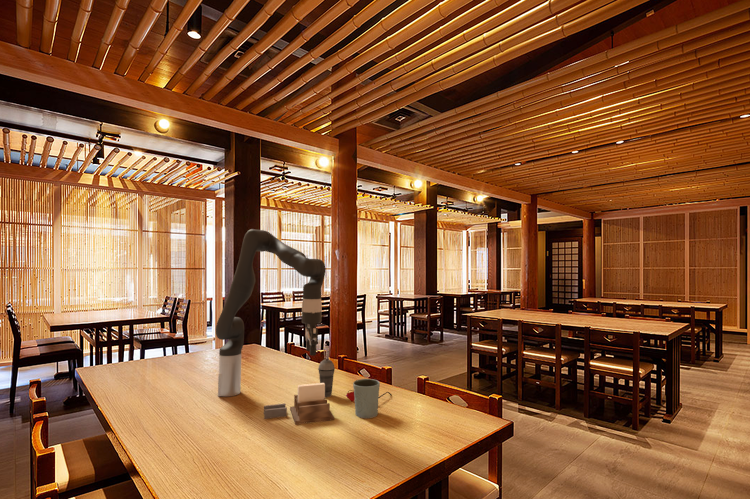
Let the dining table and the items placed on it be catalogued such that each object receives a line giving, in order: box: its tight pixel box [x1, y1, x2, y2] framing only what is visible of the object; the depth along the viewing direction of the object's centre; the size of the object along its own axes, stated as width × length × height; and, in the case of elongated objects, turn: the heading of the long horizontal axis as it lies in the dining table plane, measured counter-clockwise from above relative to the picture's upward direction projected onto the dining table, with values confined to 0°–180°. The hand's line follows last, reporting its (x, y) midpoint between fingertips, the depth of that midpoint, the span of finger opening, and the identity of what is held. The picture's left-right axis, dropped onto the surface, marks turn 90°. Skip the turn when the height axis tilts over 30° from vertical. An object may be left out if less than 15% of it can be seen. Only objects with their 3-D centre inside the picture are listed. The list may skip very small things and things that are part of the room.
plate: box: [297, 382, 326, 402], centre depth 148 cm, size 10×2×10 cm, turn 109°
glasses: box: [345, 389, 392, 402], centre depth 167 cm, size 14×16×5 cm
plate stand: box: [263, 402, 288, 420], centre depth 147 cm, size 8×5×3 cm
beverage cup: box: [317, 348, 336, 398], centre depth 170 cm, size 7×7×20 cm
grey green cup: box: [352, 378, 381, 419], centre depth 149 cm, size 10×10×12 cm
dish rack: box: [289, 394, 335, 426], centre depth 148 cm, size 14×15×6 cm
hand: (311, 352), depth 149 cm, fingers open, 8 cm apart
